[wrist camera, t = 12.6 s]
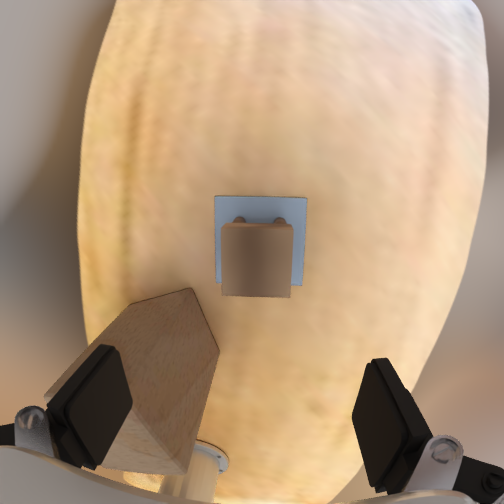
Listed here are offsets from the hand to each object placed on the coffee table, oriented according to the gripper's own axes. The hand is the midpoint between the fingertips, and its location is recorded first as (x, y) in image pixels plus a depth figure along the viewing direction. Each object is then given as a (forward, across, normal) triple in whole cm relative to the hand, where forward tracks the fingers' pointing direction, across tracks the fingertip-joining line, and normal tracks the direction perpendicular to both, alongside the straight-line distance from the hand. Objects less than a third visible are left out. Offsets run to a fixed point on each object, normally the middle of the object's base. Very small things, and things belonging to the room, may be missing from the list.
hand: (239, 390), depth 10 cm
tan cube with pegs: (+24, 0, 0) cm, 24 cm away
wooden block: (+24, +11, +12) cm, 29 cm away
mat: (+24, 0, 0) cm, 24 cm away
